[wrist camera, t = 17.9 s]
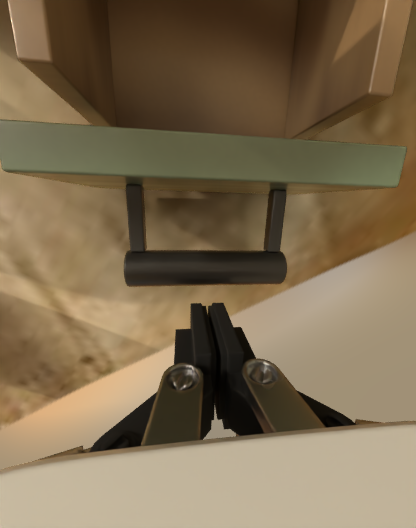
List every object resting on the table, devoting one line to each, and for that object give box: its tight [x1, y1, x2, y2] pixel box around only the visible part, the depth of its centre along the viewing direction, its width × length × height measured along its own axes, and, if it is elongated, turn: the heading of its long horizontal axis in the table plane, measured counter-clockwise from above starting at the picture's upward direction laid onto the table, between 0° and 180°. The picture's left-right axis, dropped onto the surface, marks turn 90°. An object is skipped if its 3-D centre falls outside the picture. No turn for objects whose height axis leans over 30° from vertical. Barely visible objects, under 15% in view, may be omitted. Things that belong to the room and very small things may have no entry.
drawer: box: [0, 0, 413, 287], centre depth 8 cm, size 17×11×7 cm
